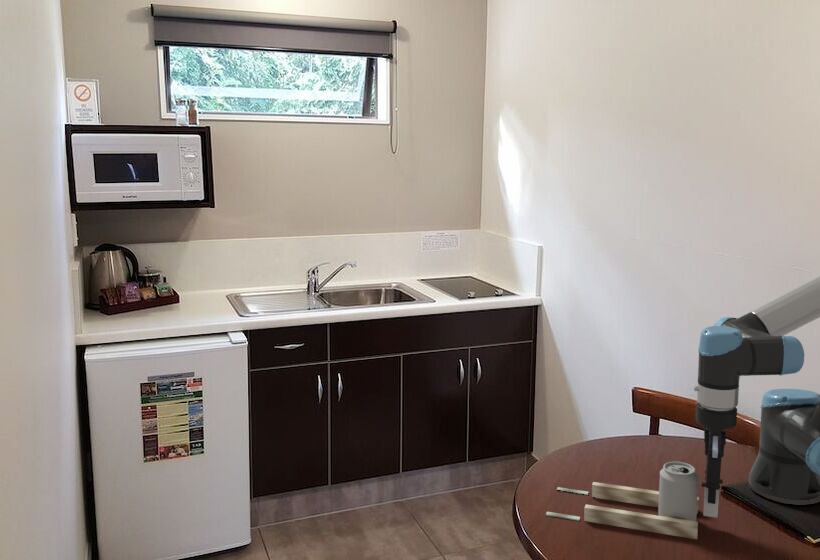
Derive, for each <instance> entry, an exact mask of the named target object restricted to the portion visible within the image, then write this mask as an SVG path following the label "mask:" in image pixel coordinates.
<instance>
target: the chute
mask: <svg viewBox="0 0 820 560" xmlns="http://www.w3.org/2000/svg"><path fill="white" fill-rule="evenodd" d="M591 485H592V486H591V498H593V497H595V499H599V500H608V501H613V502H614V501H615V502H621V503H627V504H634V505H639V506H640V505H641V506H646V507H654V508H659V490H652V489H645V488H638V487H631V486H626V485H625V486H624V485H620V484H619V485H618V484H610V483H606V482H605V483H604V482H597V481H593V482H592V484H591ZM557 490H561V491H560V492H563V491H567V492H566V493H569V492H571V493H570V494H576V493H577V495H582V494H584V495H583V496H589V494H590V492H589V491H586V490H579V489H573V488H566V487H559V486H558V487H556V491H557ZM572 492H573V493H572ZM588 493H589V494H588ZM699 501H700V497H699V496H698V497H697V514H698V513H699ZM583 513H584V514H583V515H584V516H583V519H584V520H583V521H584V522H589V523H595V524H599V525H600V524H601V525H605V526H606V525H607V526H613V527H619V528H623V529H624V528H626V529H631V530H638V531H643V532H648V533H650V532H651V533H656V534H662V535H667V536H674V537H682V538H687V539H693V540H698V530H699V529H698V528H699V527H698V526H699V522H698V521H697V520H696V521H690V520H685V519H684V518H677V517H671V516H669V517H664V516H658V514H657V515H656V514H652V513H651V514H649V513H645V512H644V513H643V512H638V511H637V512H636V511H630V510H624V509H618V508H617V509H616V508H612V507H605V506H597V505H592V504H585V506H584V511H583ZM545 516H546V517H554V518H559V519H567V520H571V521H578V522H580V520H581V516H578V515H573V514H572V515H571V514H565V513H558V512H553V511H546V513H545Z"/></svg>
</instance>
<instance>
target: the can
mask: <svg viewBox="0 0 820 560" xmlns="http://www.w3.org/2000/svg"><path fill="white" fill-rule="evenodd" d="M658 483H659V487H658V491H659V507H657V508H658V510H657V511H658V512H657V513H658V514H657V516H664V517H669V516H671V517H677V518H684V519H685V520H690V521H696V522H697V514H698V513H697V497H699V496H698V494H699V493H698V492H699V474H697V472H696V468H695V467H694V466H693V465H691V464H689V463H686V462H682V461H667V462H666V463H664V464H663V467H662V469H661V470H659V482H658Z"/></svg>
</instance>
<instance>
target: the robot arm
mask: <svg viewBox="0 0 820 560" xmlns="http://www.w3.org/2000/svg"><path fill="white" fill-rule="evenodd" d="M817 319H820V275H819V276H817V277H816V278H814V279H812V280H809V281H808V282H805V283H804V284H802V285H800V286H797V287H796V288H794V289H792V290H790V291H788V292H786V293H785V294H783V295H780V296H779V297H776V298H775V299H773V300H772V301H769V302H767V303H765V304H764V305H762V306H759V307H758V308H755V309H753V310H751V311H750V312H747V313H746V314H744V315H742V316H739V317H738V318H737V317H729V316H727V317H721V318H720V319H718V320H717V321H716V322H714V324H713V325H711V326H707V327H705V328H704V329H702V330H701V332H700V337H699V345H698V349H697V351H698V369H697V370H698V372H697V386H694V387H693V391H695V392H696V402H697V403H696V405H695V422H696V423H697V424H698V425H700V426H702V427H706V428H704V431H703V433H704V434H703V435H704V436H703V437H704V438H703V439H704V441H703V442H704V455H705V456H706V463H705V470H704V474H705V477H704V480H705V482H703V481H702V482H701V487H702V488H704V493H703V512H702V513H703V517H710V518H716V519H719V518H718V517H719V514H718V513H719V499H720V489H721V485H723V483H724V481H723V479H721V472H722V471H721V469H722V459H723V458H724V454H725V446H726V444H727V443H726V442H727V436H726V433H727V432H726V430H731V429H733V428H735V427H736V425H737V420H738V419H737V418H738V408H737V407H738V406H739V393H740V392H739V390H740V379H741V378H740V377H742V376H743V377H746V376H749V377H750V376H784V375H790V374H792V375H794V374H796V373H799V372H800V371H801V370H802V368H803V366H804V364H805V350H804V347H803V344H802V343H801V340H799V339H798V338H797V337H795V336H792V335H788V334H789V333H792V332H793V331H796V330H797V329H799V328H802V327H804V326H805V325H808V324H809V323H811V322H814V321H815V320H817ZM760 409H761V410H760V427H759V428H760V430H759V444H758V445H759V449H758V454H757V457H756V458H755V461H754V463H753V465H752V467H751V469H750V472H749V474H748V482H749V484H750V485H751V486H752V487H753V488H755V489H756V490H758V491H760V492H762V493H765V494H768V495H771V496H775V497H778V498H784V499H790V500H810V499H814V498H817V497H818V496H820V393H819V392H816V391H812V390H807V389H798V388H775V389H769V390H768V391H766V392H765V393H764V394H763V396H762V400H761V405H760Z"/></svg>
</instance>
